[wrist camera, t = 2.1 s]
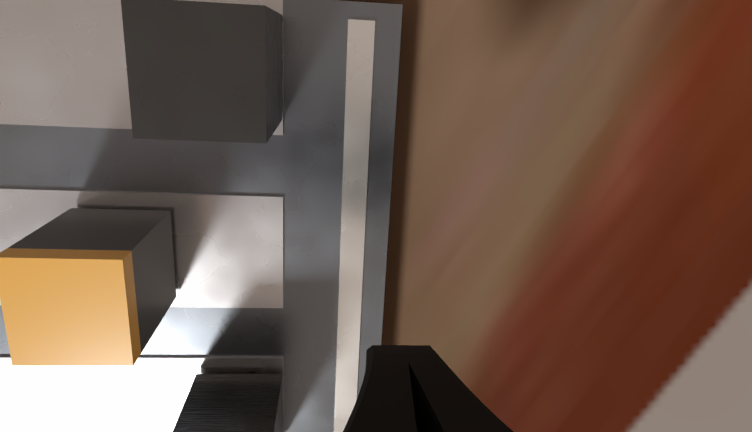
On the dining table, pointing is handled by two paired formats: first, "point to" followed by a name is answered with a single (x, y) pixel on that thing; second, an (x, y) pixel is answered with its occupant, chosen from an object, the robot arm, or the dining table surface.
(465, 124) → the dining table surface
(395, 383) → the robot arm
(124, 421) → the panel
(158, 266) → the block
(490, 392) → the dining table surface
